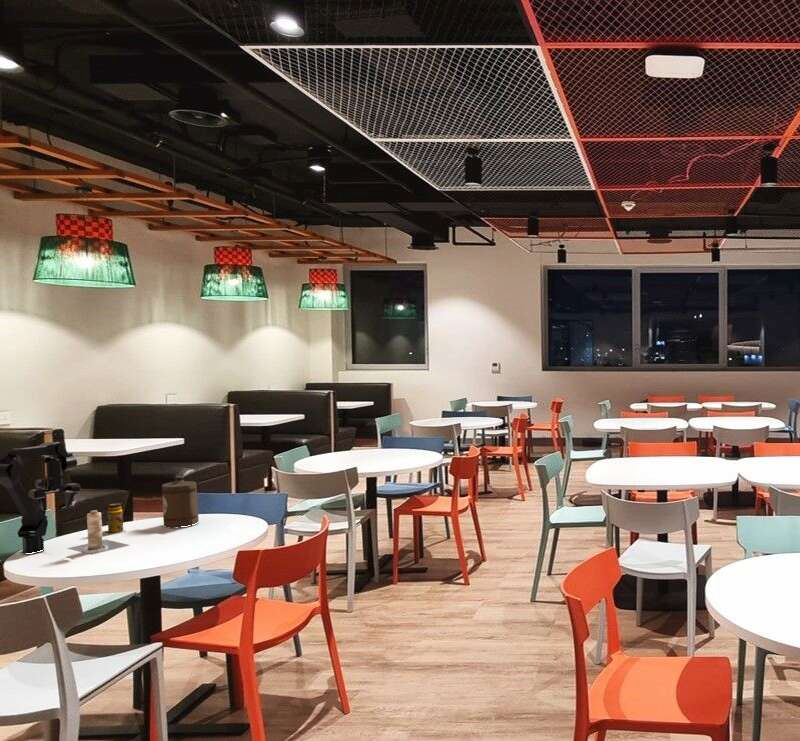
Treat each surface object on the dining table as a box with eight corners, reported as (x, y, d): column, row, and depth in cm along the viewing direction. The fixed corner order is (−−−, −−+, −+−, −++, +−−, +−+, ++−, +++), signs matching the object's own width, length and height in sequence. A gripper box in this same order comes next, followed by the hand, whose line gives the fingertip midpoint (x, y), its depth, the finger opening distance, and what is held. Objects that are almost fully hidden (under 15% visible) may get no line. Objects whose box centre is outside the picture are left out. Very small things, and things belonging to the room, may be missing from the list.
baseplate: (91, 556, 274) (91, 551, 274) (67, 550, 286) (67, 545, 286) (130, 547, 287) (130, 542, 287) (105, 541, 298) (105, 536, 298)
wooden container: (170, 521, 333) (168, 472, 332) (203, 520, 332) (201, 471, 332) (158, 529, 318) (156, 478, 318) (192, 528, 317) (190, 477, 317)
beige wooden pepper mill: (90, 552, 277) (89, 512, 277) (86, 550, 281) (85, 511, 281) (104, 550, 280) (102, 510, 280) (100, 547, 284) (98, 509, 284)
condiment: (126, 532, 314) (124, 504, 314) (105, 535, 310) (103, 506, 309) (122, 529, 320) (120, 501, 320) (101, 532, 316) (100, 504, 315)
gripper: (66, 468, 309) (68, 505, 309) (21, 475, 294) (22, 514, 294) (80, 470, 302) (82, 508, 302) (34, 477, 287) (36, 517, 287)
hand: (55, 511), depth 297 cm, fingers open, 9 cm apart
